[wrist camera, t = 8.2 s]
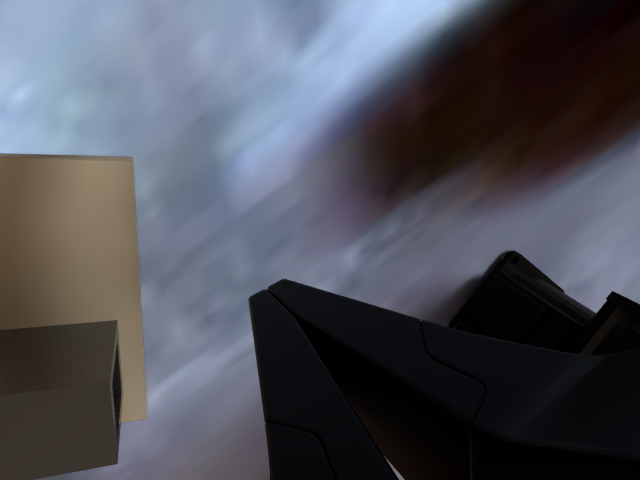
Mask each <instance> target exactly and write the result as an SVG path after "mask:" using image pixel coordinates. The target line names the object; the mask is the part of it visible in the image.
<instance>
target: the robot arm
mask: <svg viewBox="0 0 640 480" xmlns="http://www.w3.org/2000/svg"><path fill="white" fill-rule="evenodd" d="M513 258H514V259H513ZM512 259H513V260H512ZM606 300H607V301H606V302H605V304H604V305H603V306H602V307H601V309H600V310H599V311H598V312H597V313H595V312H593V311H592V310H590V309H589V308H587V307H585V306H584V305H582V304H581V303H579V302H577V301H576V300H574V299H572V298H571V297H569V296H568V295H566V294H564V291H563V290H562V289H561V288H560V287H559V286H558V285H557V284H555V283H554V282H553V281H552V280H551V279H549V278H548V277H547V276H546V275H545V274H543V273H542V272H541V271H540V270H539V269H538V268H536V267H535V266H534V265H533V264H532V263H530V262H529V261H528V260H527V259H526V258H525V257H523V256H522V255H521V254H519V253H518V252H516V251H510V252H508V253H507V254H506V255H505V257H504V258H503V259H502V260H501V261H500V263H499V264H498V265H497V266H496V268H495V269H494V270H493V271H492V273H491V274H490V275H489V276H488V278H487V279H486V280H485V281H484V283H483V284H482V285H481V286H480V287H479V289H478V290H477V291H476V292H475V294H474V295H473V296H472V297H471V299H470V300H469V301H468V302H467V304H466V305H465V306H464V307H463V309H462V310H461V311H460V312H459V313H458V315H457V316H456V317H455V318H454V320H453V321H452V322H451V324H450V326H449V327H445V326H442V325H438V324H435V323H431V322H428V321H425V320H422V321H421V322H420V320H419V319H417V318H414V317H411V316H407V315H404V314H401V313H397V312H394V311H391V310H387V309H384V308H381V307H377V306H374V305H371V304H367V303H364V302H361V301H357V300H354V299H351V298H347V297H344V296H341V295H337V294H334V293H331V292H327V291H324V290H320V289H317V288H314V287H310V286H307V285H304V284H300V283H297V282H294V281H290V280H287V279H282V280H280V281H278V282H276V283H274V284H272V285H270V286H269V287H268V289H267V290H261V291H260V292H258V293H256V294H254V295H252V296H251V297H250V298H249V308H250V315H251V323H252V330H253V337H254V345H255V352H256V360H257V367H258V375H259V382H260V390H261V397H262V404H263V412H264V419H265V423H266V424H265V429H266V436H267V445H268V455H269V466H270V480H399V479H398V477H397V476H396V474H395V473H394V471H393V470H392V468H391V466H390V465H389V463H388V462H387V460H388V461H389V462H390V463H391V464H392V465H393V467H394V468H395V469H396V470H397V471H398V472H399V473H400V475H401V476H402V477H403V478H404V479H405V480H640V304H638V303H636V302H634V301H632V300H630V299H628V298H626V297H624V296H622V295H619V294H617V293H615V292H613V291H612V292H611V293H610V294H609V296H608V297H607V298H606ZM457 327H458V328H457ZM383 455H384V456H385V457H386V459H387V460H386V459H385V457H384V456H383Z"/></svg>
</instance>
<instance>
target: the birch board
mask: <svg viewBox="0 0 640 480" xmlns="http://www.w3.org/2000/svg"><path fill="white" fill-rule="evenodd" d="M112 320H118V332H119V345H120V357H121V369H122V382H123V403H122V415H121V423H123V422H129V421H136V420H142V419H147V400H146V382H145V365H144V347H143V330H142V312H141V295H140V277H139V260H138V242H137V225H136V207H135V190H134V173H133V157H116V156H78V155H40V154H2V153H0V330H8V329H19V328H31V327H42V326H54V325H66V324H77V323H89V322H100V321H112Z"/></svg>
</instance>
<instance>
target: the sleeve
mask: <svg viewBox="0 0 640 480" xmlns="http://www.w3.org/2000/svg"><path fill="white" fill-rule="evenodd" d="M122 403H123V382H122V369H121V357H120V345H119V332H118V320H112V321H100V322H89V323H77V324H66V325H54V326H42V327H31V328H19V329H8V330H0V480H33V479H39V478H44V477H49V476H55V475H60V474H66V473H71V472H76V471H82V470H87V469H92V468H98V467H103V466H109V465H114V464H117V463H118V451H119V439H120V427H121V415H122Z"/></svg>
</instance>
